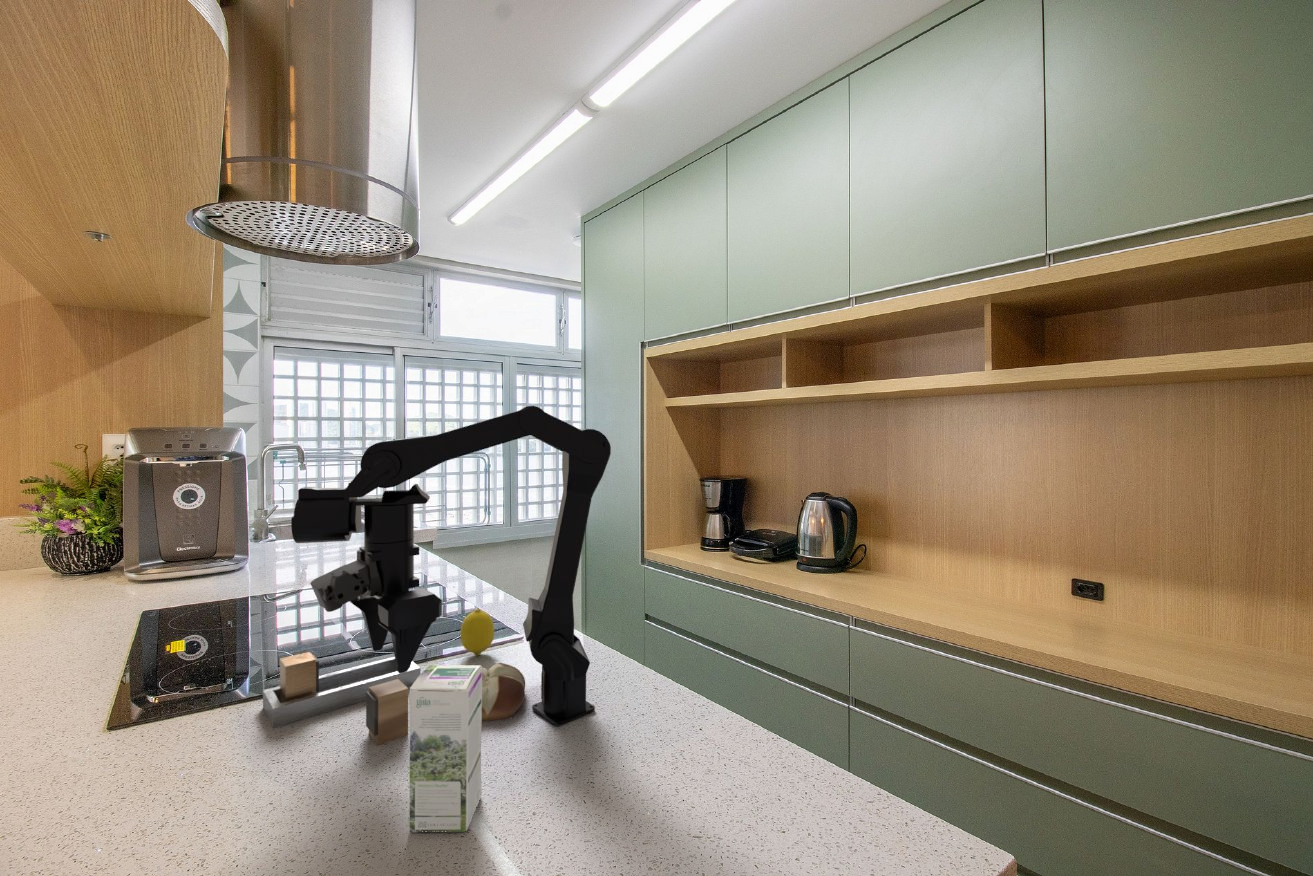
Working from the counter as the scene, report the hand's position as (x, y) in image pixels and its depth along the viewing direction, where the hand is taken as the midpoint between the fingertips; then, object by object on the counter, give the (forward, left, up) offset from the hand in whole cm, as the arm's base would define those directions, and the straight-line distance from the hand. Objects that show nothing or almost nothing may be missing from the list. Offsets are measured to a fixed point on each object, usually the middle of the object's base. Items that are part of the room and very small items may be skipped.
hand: (389, 660), depth 74 cm
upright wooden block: (0, 0, -10) cm, 10 cm away
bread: (-1, -13, -10) cm, 16 cm away
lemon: (+16, -20, -10) cm, 27 cm away
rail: (+15, +1, -9) cm, 18 cm away
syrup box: (-20, +1, -10) cm, 22 cm away
